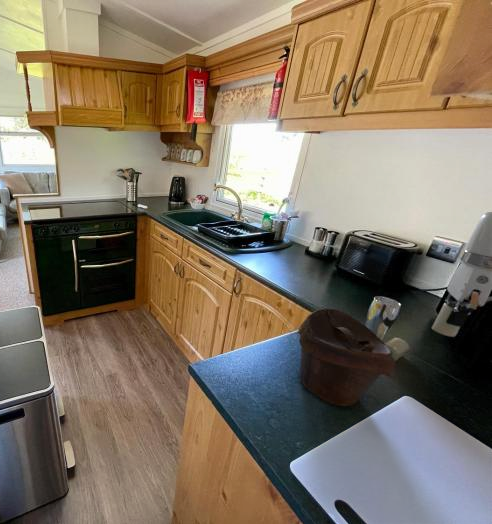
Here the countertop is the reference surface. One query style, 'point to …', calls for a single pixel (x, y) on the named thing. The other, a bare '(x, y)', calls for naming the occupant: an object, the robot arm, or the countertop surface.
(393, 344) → the salt shaker
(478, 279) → the robot arm
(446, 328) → the pepper shaker
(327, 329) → the brown lidded pot
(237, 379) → the countertop surface
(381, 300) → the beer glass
